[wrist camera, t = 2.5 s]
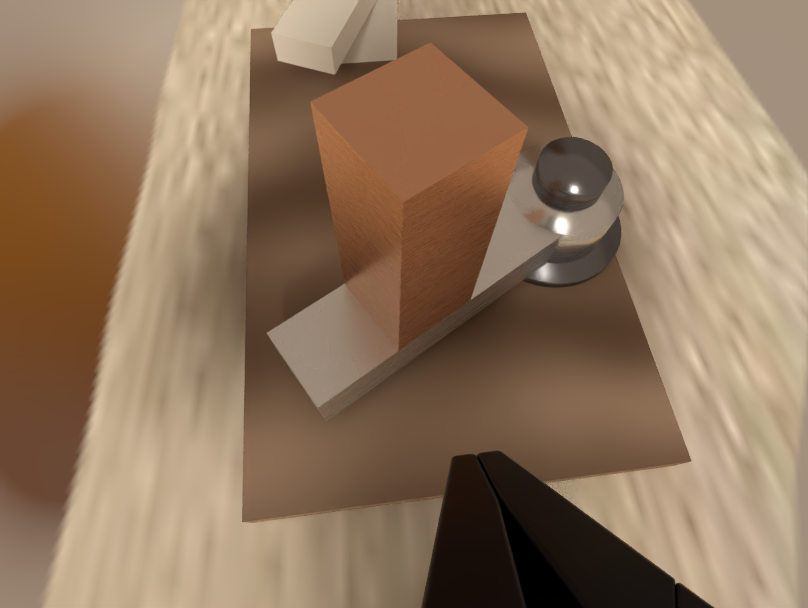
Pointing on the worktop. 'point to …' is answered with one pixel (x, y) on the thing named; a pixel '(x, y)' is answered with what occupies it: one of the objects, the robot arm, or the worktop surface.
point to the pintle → (574, 204)
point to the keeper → (336, 33)
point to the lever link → (422, 222)
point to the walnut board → (455, 353)
